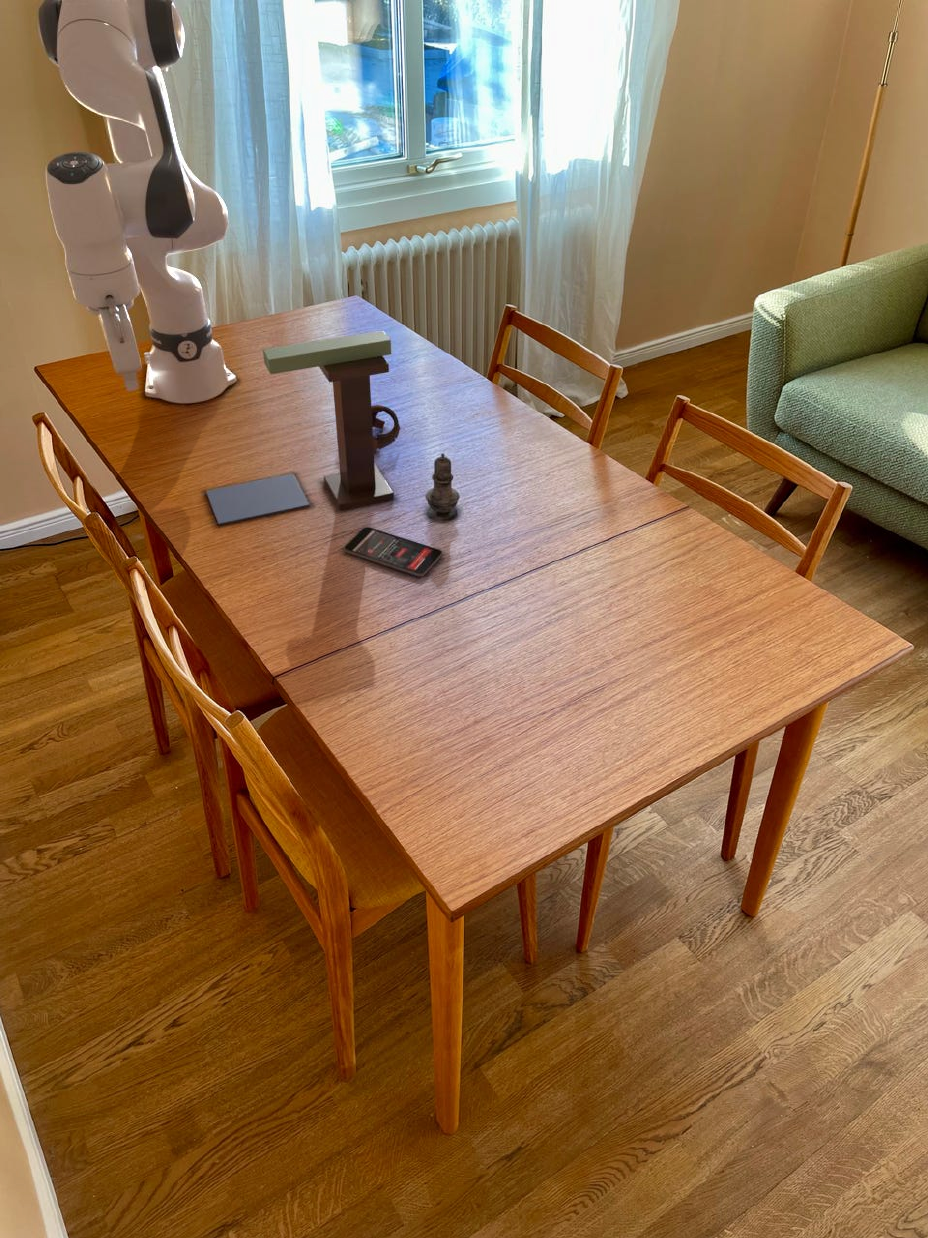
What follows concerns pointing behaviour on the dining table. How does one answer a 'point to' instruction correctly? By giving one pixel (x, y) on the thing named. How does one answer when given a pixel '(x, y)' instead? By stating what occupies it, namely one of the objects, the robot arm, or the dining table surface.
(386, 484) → the stand
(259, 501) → the blue-grey flat rectangular plate
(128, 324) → the robot arm
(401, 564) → the smartphone
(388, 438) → the pottery mug
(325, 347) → the bar
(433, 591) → the dining table surface
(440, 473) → the salt shaker
